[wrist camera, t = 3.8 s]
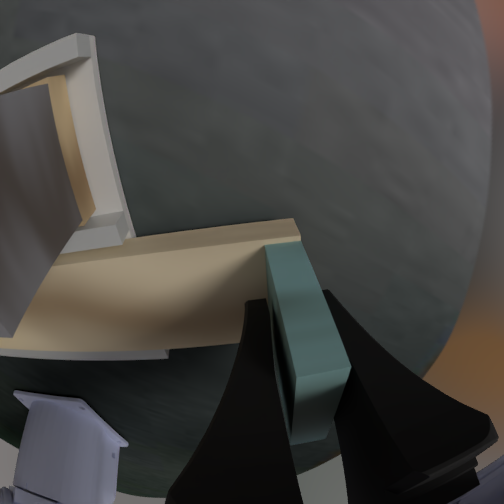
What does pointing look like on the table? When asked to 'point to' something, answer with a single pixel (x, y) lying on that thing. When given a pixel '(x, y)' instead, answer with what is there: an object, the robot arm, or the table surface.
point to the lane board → (93, 157)
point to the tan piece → (199, 307)
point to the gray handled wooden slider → (36, 191)
